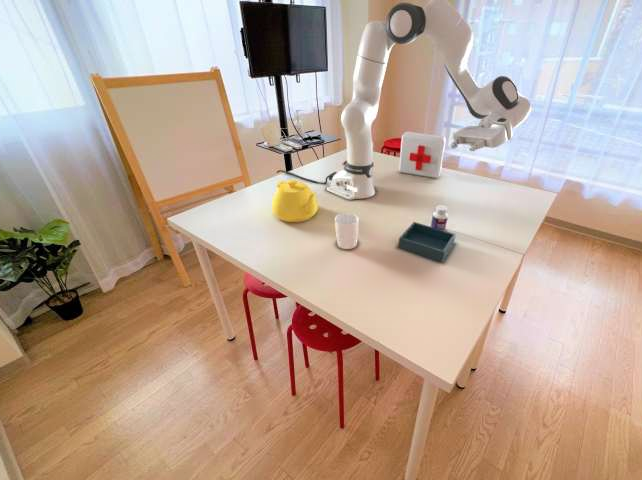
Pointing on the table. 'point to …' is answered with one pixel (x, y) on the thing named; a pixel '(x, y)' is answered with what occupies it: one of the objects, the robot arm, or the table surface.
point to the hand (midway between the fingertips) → (461, 147)
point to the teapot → (294, 201)
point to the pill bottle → (439, 218)
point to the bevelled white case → (421, 154)
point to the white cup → (346, 230)
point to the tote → (427, 241)
